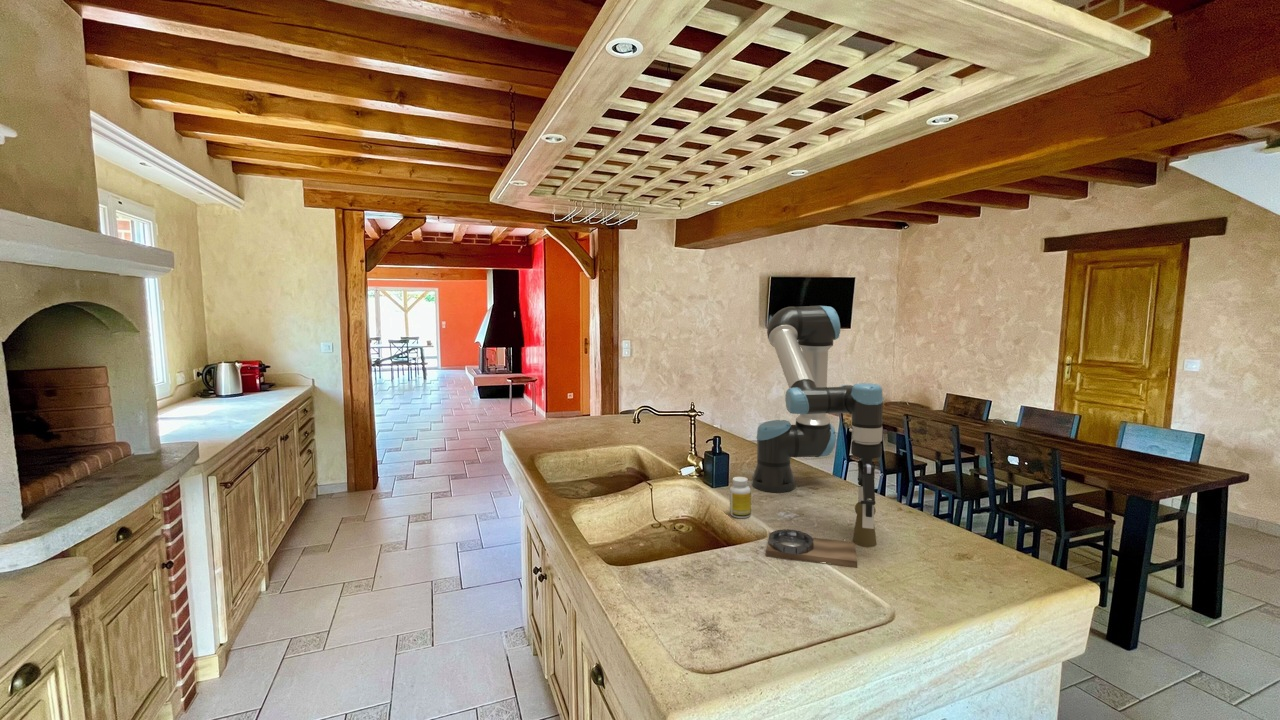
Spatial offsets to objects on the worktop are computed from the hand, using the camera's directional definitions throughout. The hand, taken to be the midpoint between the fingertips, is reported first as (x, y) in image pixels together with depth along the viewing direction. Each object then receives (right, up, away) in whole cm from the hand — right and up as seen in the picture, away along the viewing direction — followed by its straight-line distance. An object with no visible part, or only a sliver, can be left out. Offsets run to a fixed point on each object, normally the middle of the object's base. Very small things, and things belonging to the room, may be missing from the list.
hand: (865, 518), depth 141 cm
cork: (0, -7, +1) cm, 7 cm away
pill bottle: (-30, -6, +22) cm, 37 cm away
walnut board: (-16, -8, -4) cm, 18 cm away
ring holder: (-21, -6, -3) cm, 22 cm away
